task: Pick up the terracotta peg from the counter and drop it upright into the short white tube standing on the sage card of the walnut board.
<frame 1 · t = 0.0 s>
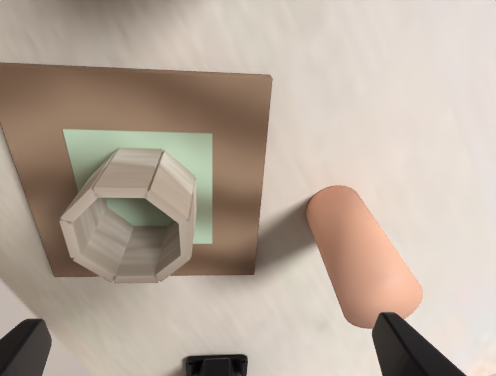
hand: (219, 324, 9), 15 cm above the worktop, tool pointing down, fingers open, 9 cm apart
terracotta peg: (333, 209, 25), on the worktop
tube board: (149, 185, 23), on the worktop
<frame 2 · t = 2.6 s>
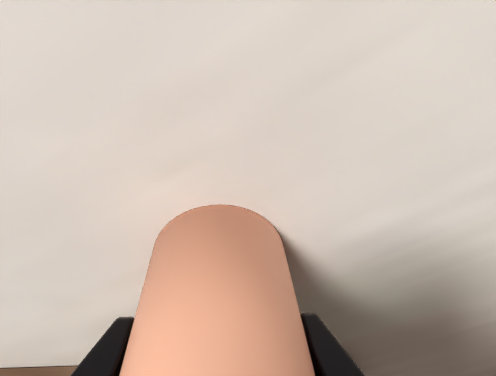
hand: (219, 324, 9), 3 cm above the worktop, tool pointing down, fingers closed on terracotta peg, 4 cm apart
terracotta peg: (219, 258, 11), on the worktop, touching gripper
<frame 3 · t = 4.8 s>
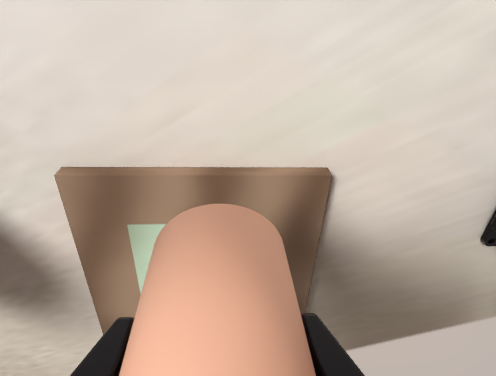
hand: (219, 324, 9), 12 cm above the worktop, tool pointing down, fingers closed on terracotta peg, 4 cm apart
terracotta peg: (219, 257, 11), point 9 cm above the worktop, touching gripper
tube board: (203, 264, 24), on the worktop
when the fingers open (7 cm above the worktop, at t = 7.0 s): terracotta peg drops 3 cm, resting on tube board.
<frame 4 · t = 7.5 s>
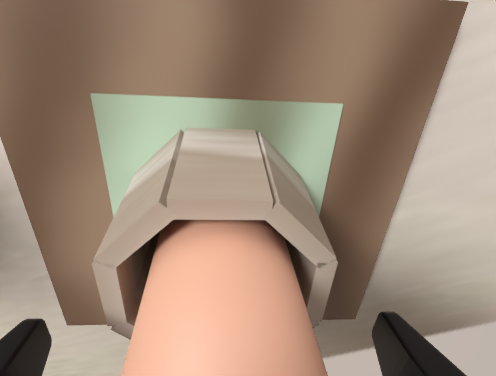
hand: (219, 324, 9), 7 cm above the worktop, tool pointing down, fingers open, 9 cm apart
terracotta peg: (221, 208, 14), point 1 cm above the worktop, touching tube board
tube board: (219, 190, 15), on the worktop
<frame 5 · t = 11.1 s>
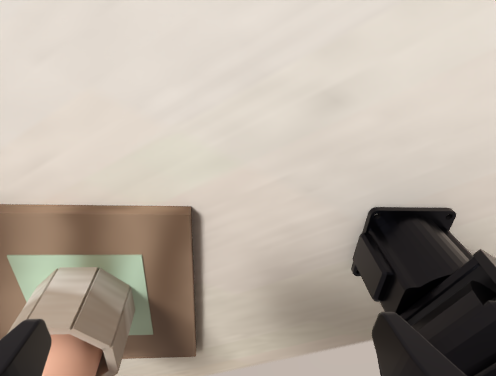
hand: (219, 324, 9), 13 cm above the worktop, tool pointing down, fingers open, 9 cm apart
terracotta peg: (89, 300, 25), point 1 cm above the worktop, touching tube board
tube board: (92, 288, 26), on the worktop
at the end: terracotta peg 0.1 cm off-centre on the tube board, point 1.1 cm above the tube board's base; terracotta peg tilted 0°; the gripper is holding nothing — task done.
